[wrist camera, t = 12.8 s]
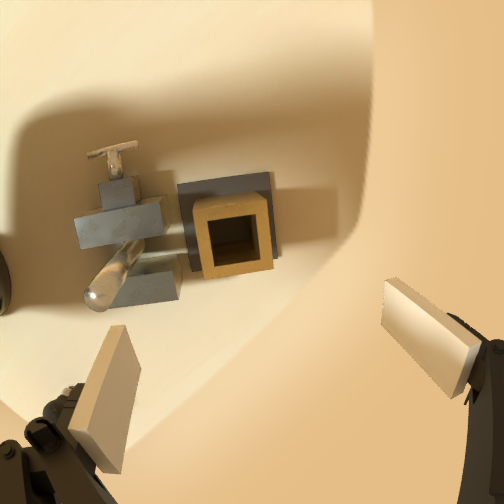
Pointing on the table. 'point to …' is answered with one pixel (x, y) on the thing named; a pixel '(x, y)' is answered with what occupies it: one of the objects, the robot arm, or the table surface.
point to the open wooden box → (234, 252)
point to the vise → (131, 230)
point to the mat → (228, 226)
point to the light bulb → (56, 406)
